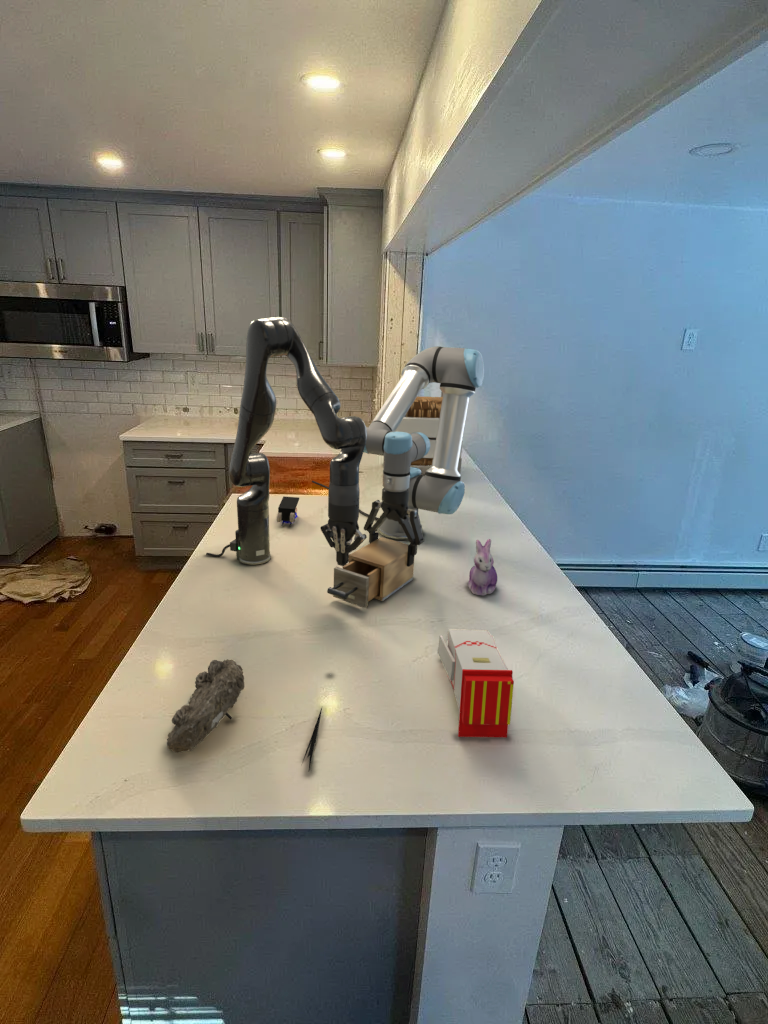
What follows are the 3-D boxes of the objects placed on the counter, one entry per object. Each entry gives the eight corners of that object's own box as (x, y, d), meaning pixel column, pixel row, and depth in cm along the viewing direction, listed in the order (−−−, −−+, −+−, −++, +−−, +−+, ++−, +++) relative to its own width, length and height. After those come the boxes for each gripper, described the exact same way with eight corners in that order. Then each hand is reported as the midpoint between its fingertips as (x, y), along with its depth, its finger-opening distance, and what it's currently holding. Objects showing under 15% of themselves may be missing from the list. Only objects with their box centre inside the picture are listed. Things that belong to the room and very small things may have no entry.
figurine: (479, 599, 156) (485, 549, 151) (458, 584, 165) (463, 536, 160) (506, 593, 161) (512, 544, 155) (484, 578, 169) (490, 531, 164)
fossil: (192, 660, 117) (244, 628, 112) (224, 691, 120) (276, 661, 115) (142, 746, 98) (202, 712, 93) (182, 779, 101) (242, 748, 96)
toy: (488, 613, 130) (523, 677, 101) (484, 667, 133) (517, 744, 104) (435, 612, 130) (455, 676, 101) (432, 666, 133) (451, 743, 103)
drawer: (352, 617, 142) (353, 587, 140) (319, 605, 147) (319, 575, 145) (396, 586, 160) (397, 558, 157) (365, 576, 165) (366, 549, 162)
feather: (331, 679, 122) (336, 673, 122) (307, 777, 96) (313, 769, 95) (324, 675, 122) (329, 669, 121) (298, 772, 95) (304, 764, 95)
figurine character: (295, 532, 200) (300, 513, 214) (294, 513, 197) (299, 495, 210) (276, 531, 200) (282, 512, 213) (275, 512, 197) (281, 494, 210)
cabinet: (382, 601, 153) (384, 565, 150) (347, 589, 159) (348, 554, 155) (413, 579, 167) (415, 546, 164) (379, 568, 173) (381, 536, 169)
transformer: (382, 463, 289) (386, 382, 275) (445, 464, 293) (451, 384, 279) (390, 482, 257) (394, 392, 243) (460, 483, 261) (468, 394, 247)
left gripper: (312, 497, 137) (312, 562, 143) (357, 509, 131) (355, 577, 137) (331, 490, 143) (330, 553, 149) (375, 501, 137) (372, 566, 143)
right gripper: (352, 483, 161) (350, 553, 168) (427, 500, 149) (421, 574, 157) (367, 477, 167) (365, 545, 174) (440, 493, 155) (434, 565, 163)
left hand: (342, 564), depth 143 cm, fingers closed
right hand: (391, 559), depth 165 cm, fingers closed on cabinet, 12 cm apart
